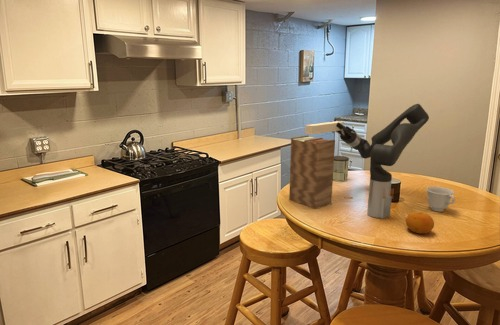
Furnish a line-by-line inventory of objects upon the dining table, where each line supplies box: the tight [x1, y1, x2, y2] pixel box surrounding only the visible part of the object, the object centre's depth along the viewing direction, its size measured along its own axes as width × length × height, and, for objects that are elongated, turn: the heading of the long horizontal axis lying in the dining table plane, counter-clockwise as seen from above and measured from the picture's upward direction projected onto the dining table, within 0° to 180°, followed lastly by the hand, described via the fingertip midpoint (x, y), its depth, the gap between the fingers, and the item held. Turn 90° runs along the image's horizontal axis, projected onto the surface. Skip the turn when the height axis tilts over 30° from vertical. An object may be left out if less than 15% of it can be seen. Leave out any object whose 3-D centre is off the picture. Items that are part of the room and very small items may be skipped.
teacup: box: [425, 186, 456, 213], centre depth 172 cm, size 12×15×10 cm
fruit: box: [405, 212, 435, 235], centre depth 149 cm, size 10×10×8 cm
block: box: [304, 120, 345, 135], centre depth 175 cm, size 4×24×4 cm, turn 129°
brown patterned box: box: [288, 134, 336, 210], centre depth 181 cm, size 18×12×33 cm, turn 39°
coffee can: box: [333, 155, 350, 183], centre depth 223 cm, size 10×10×14 cm
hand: (333, 123), depth 179 cm, fingers closed on block, 4 cm apart
